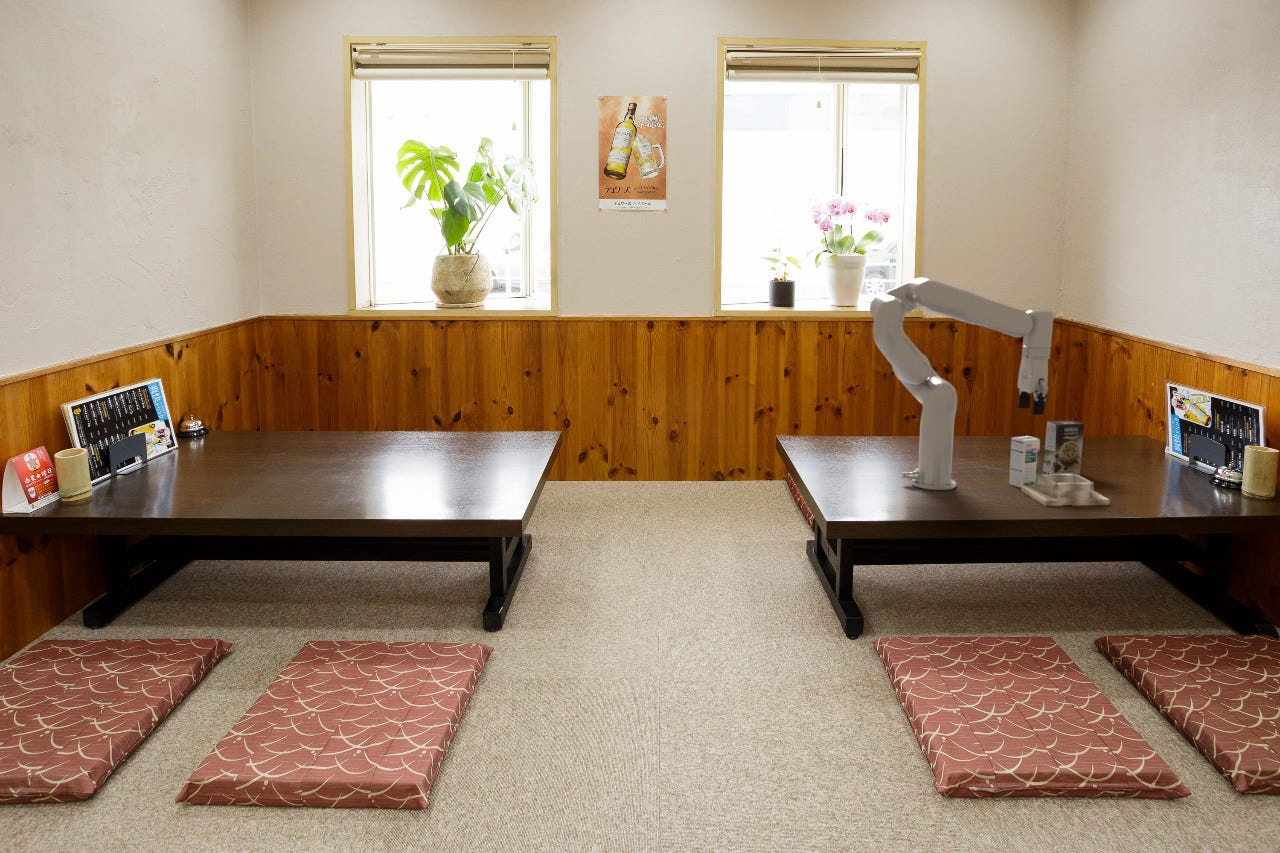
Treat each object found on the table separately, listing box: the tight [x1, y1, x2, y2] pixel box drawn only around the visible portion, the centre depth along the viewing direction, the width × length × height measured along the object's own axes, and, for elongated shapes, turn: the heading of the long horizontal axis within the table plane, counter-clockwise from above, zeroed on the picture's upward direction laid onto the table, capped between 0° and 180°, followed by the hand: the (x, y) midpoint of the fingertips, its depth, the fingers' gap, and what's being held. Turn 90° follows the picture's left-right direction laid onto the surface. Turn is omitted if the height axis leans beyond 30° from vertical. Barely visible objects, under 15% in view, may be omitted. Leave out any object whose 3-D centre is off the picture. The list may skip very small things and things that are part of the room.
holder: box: [1020, 473, 1110, 507], centre depth 291 cm, size 18×16×6 cm
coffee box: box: [1042, 419, 1085, 475], centre depth 318 cm, size 9×6×16 cm
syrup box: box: [1009, 435, 1041, 489], centre depth 303 cm, size 6×6×14 cm
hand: (1030, 411), depth 300 cm, fingers open, 9 cm apart
